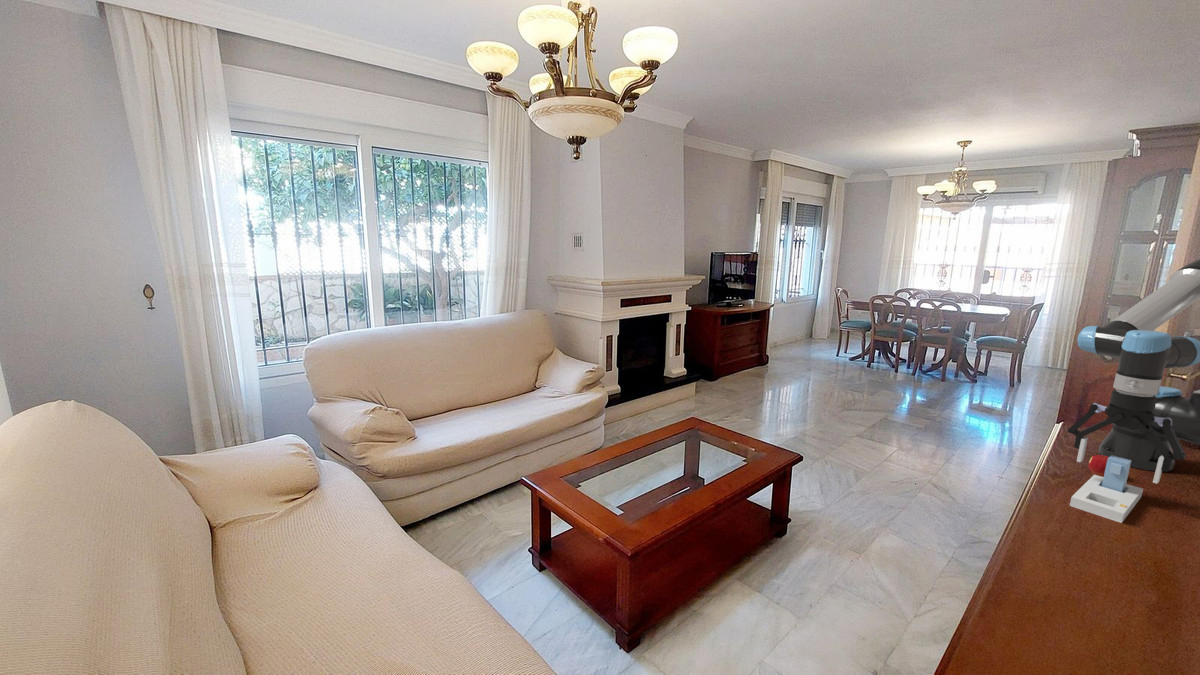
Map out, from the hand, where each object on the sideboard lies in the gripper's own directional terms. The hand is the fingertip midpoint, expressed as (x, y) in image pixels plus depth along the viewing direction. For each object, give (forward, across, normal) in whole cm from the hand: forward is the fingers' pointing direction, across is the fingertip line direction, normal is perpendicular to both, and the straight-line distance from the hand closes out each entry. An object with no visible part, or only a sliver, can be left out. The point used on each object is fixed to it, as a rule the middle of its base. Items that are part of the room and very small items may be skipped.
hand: (1116, 470), depth 121 cm
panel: (+8, 0, -5) cm, 9 cm away
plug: (+7, 0, 0) cm, 7 cm away
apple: (+8, -4, +13) cm, 16 cm away
